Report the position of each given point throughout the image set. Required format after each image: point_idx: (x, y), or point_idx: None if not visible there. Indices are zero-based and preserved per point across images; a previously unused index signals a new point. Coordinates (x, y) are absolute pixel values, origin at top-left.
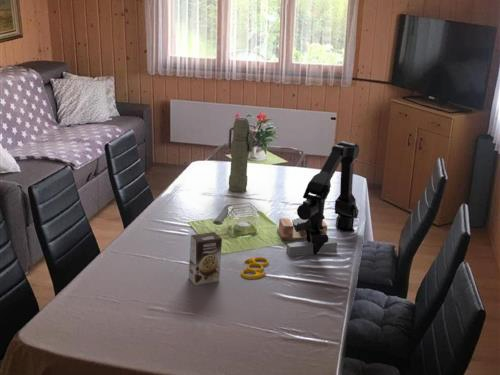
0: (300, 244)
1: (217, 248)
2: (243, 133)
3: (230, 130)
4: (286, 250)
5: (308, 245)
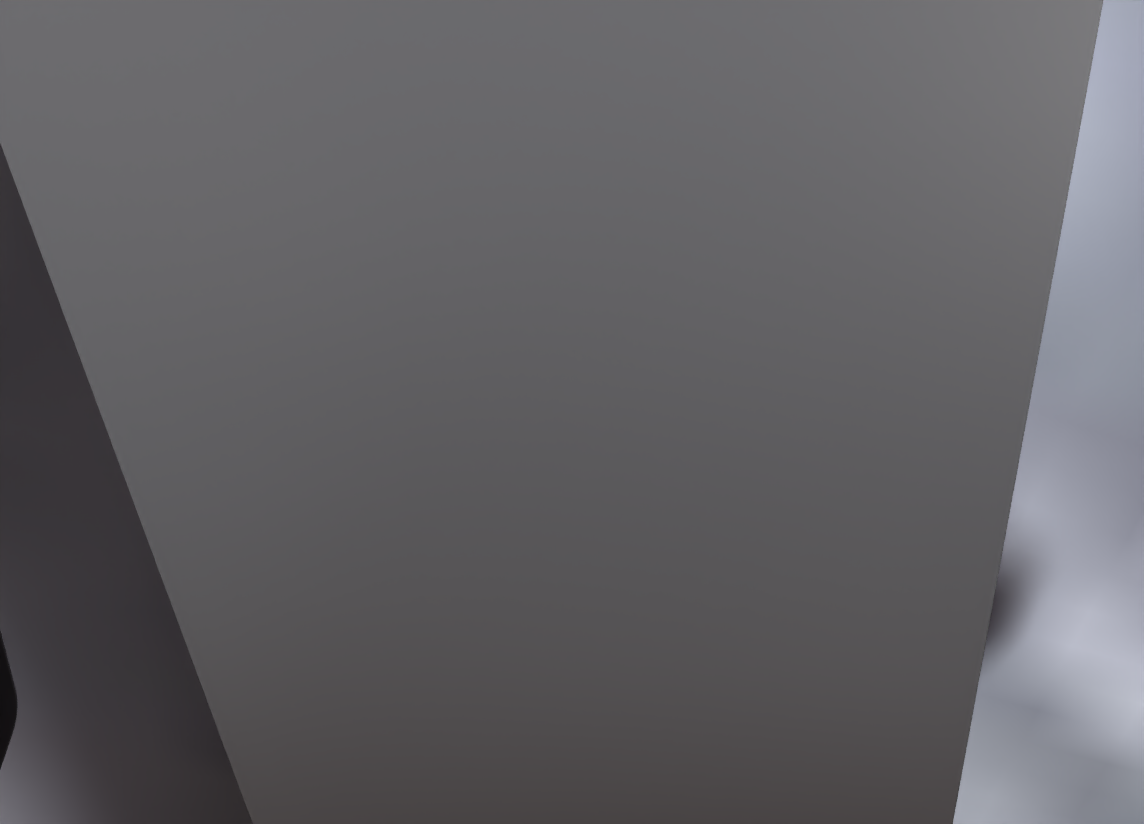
0: (473, 142)
1: None
2: None
3: None
4: None
5: (246, 791)
